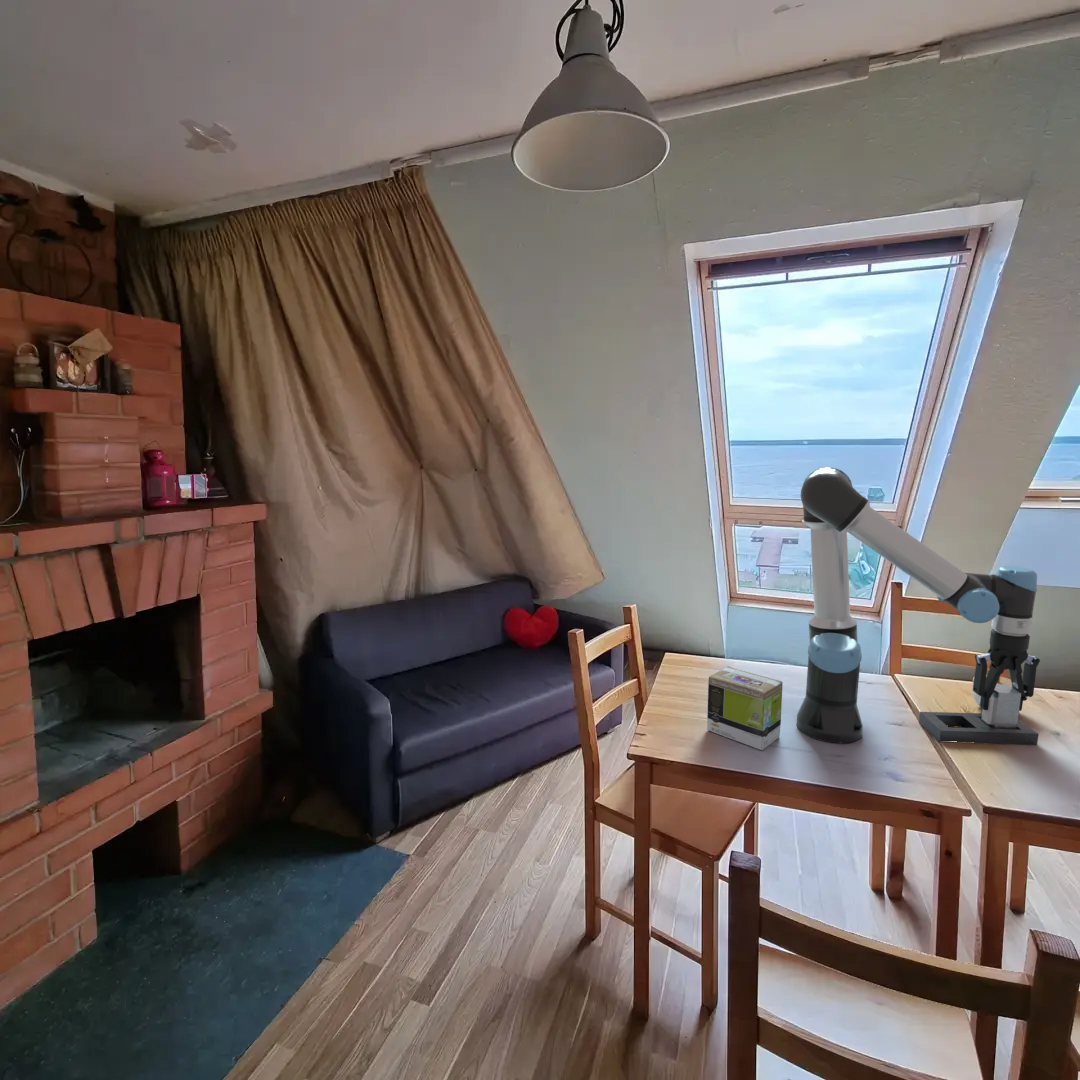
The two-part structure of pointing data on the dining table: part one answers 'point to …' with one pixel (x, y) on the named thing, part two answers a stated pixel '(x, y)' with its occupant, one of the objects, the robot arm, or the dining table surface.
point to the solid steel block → (1005, 707)
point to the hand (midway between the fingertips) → (998, 721)
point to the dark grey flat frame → (974, 729)
